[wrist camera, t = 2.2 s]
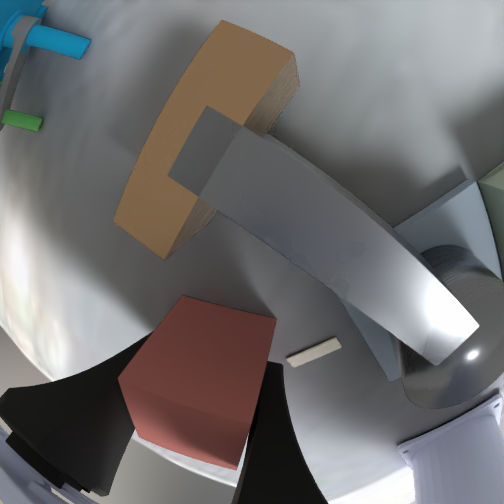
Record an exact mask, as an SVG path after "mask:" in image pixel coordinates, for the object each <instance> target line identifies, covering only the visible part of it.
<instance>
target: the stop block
mask: <svg viewBox="0 0 504 504" xmlns="http://www.w3.org/2000/svg"><path fill="white" fill-rule="evenodd" d="M276 320H277V319H276V318H271V317H267V316H262V315H258V314H254V313H249V312H245V311H241V310H237V309H233V308H229V307H225V306H221V305H217V304H213V303H209V302H205V301H201V300H198V299H194V298H190V297H186V296H183V295H182V297H181V298H180V299H179V300H178V301H177V303H176V304H175V305H174V306H173V308H172V309H171V310H170V311H169V313H168V314H167V315H166V316H165V318H164V319H163V320H162V322H161V323H160V324H159V325H158V327H157V328H156V329H155V330H154V332H153V333H152V334H151V335H150V337H149V338H148V339H147V341H146V342H145V343H144V344H143V346H142V347H141V348H140V350H139V351H138V352H137V353H136V355H135V356H134V357H133V359H132V360H131V361H130V363H129V364H128V365H127V366H126V368H125V369H124V370H123V372H122V373H121V374H120V376H119V377H118V381H119V384H120V387H121V390H122V393H123V396H124V399H125V402H126V405H127V408H128V411H129V413H130V416H131V419H132V421H133V424H134V426H135V429H136V431H137V434H138V436H139V437H140V438H142V439H144V440H147V441H149V442H151V443H154V444H156V445H159V446H161V447H164V448H166V449H169V450H171V451H174V452H177V453H180V454H182V455H185V456H188V457H191V458H194V459H197V460H201V461H204V462H207V463H211V464H214V465H218V466H221V467H225V468H229V469H233V470H237V468H238V465H239V462H240V458H241V455H242V452H243V449H244V446H245V443H246V439H247V436H248V433H249V430H250V426H251V423H252V419H253V416H254V412H255V408H256V404H257V400H258V396H259V392H260V388H261V384H262V380H263V376H264V372H265V368H266V364H267V360H268V355H269V351H270V347H271V342H272V338H273V334H274V329H275V325H276Z"/></svg>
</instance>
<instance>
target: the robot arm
mask: <svg viewBox="0 0 504 504" xmlns="http://www.w3.org/2000/svg"><path fill="white" fill-rule="evenodd" d="M153 332H154V331H153ZM153 332H151V333H150V334H148V335H147V336H145V337H144V338H142V339H140V340H139V341H137V342H136V343H134V344H133V345H131V346H130V347H128V348H126V349H125V350H123V351H121V352H120V353H118V354H116V355H115V356H113V357H111V358H109V359H108V360H106V361H104V362H102V363H100V364H98V365H96V366H94V367H92V368H90V369H88V370H85V371H83V372H81V373H78V374H76V375H73V376H70V377H67V378H63V379H60V380H57V381H54V382H49V383H45V384H40V385H35V386H28V387H17V388H9V389H8V390H7V391H6V392H5V393H4V394H3V395H2V396H1V397H0V417H1V418H2V419H3V420H4V422H5V423H6V424H7V425H8V426H9V427H10V428H11V430H12V431H13V432H12V433H11V434H10V435H9V434H8V433H7V432H6V431H5V430H4V429H3V428H2V427H1V426H0V499H1V501H2V502H3V503H4V504H69V503H67V502H66V501H64V500H63V499H61V498H60V497H58V496H57V495H55V494H54V493H52V491H51V487H52V488H53V489H55V490H56V491H58V492H59V493H60V494H62V495H63V496H64V497H66V498H67V499H69V500H70V501H72V502H73V503H75V504H98V503H97V502H95V501H93V500H91V499H90V498H88V497H87V496H85V495H84V494H82V493H80V491H81V490H82V489H83V490H84V491H86V492H88V493H90V491H93V492H94V493H96V494H98V495H99V496H107V495H109V492H110V489H111V486H112V483H113V480H114V477H115V474H116V471H117V469H118V466H119V464H120V461H121V459H122V456H123V454H124V452H125V449H126V447H127V445H128V443H129V440H130V438H131V436H132V434H133V432H134V430H135V426H134V424H133V421H132V419H131V416H130V413H129V411H128V408H127V405H126V402H125V399H124V396H123V393H122V390H121V387H120V384H119V381H118V377H119V376H120V374H121V373H122V372H123V370H124V369H125V368H126V366H127V365H128V364H129V363H130V361H131V360H132V359H133V357H134V356H135V355H136V353H137V352H138V351H139V350H140V348H141V347H142V346H143V344H144V343H145V342H146V341H147V339H148V338H149V337H150V335H151V334H152V333H153ZM502 400H503V398H502V395H501V394H497V395H495V396H494V397H492V398H491V399H489V400H487V401H486V402H484V403H483V404H481V405H479V406H478V407H476V408H474V409H473V410H471V411H469V412H468V413H466V414H464V415H462V416H460V417H459V418H457V419H455V420H453V421H451V422H449V423H447V424H445V425H443V426H441V427H439V428H437V429H435V430H433V431H430V432H428V433H426V434H424V435H421V436H419V437H417V438H414V439H412V440H409V441H407V442H404V443H402V444H400V445H399V446H398V447H397V450H398V453H399V454H400V455H401V457H402V458H403V459H404V460H405V462H406V463H407V464H408V465H409V467H410V468H411V469H412V471H413V475H414V485H415V497H416V504H504V440H503V437H502V434H501V431H500V428H499V424H500V417H501V409H502ZM50 486H51V487H50ZM231 504H328V502H327V501H326V499H325V498H324V496H323V494H322V493H321V491H320V489H319V488H318V486H317V484H316V482H315V480H314V478H313V476H312V474H311V472H310V470H309V468H308V466H307V464H306V462H305V459H304V457H303V455H302V452H301V449H300V447H299V444H298V441H297V438H296V435H295V432H294V429H293V425H292V422H291V418H290V414H289V409H288V404H287V400H286V394H285V387H284V376H283V365H282V364H279V363H275V362H270V361H267V364H266V368H265V372H264V376H263V380H262V384H261V388H260V392H259V396H258V400H257V404H256V408H255V412H254V416H253V419H252V423H251V426H250V430H249V435H248V441H247V447H246V453H245V458H244V463H243V467H242V470H241V474H240V477H239V481H238V484H237V487H236V490H235V494H234V497H233V500H232V503H231Z"/></svg>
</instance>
